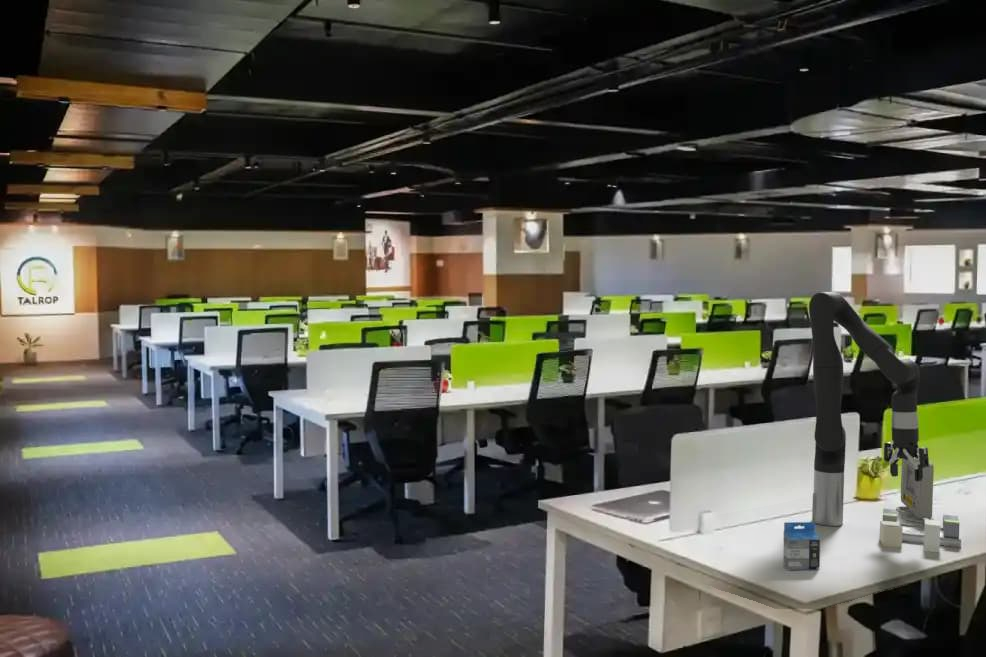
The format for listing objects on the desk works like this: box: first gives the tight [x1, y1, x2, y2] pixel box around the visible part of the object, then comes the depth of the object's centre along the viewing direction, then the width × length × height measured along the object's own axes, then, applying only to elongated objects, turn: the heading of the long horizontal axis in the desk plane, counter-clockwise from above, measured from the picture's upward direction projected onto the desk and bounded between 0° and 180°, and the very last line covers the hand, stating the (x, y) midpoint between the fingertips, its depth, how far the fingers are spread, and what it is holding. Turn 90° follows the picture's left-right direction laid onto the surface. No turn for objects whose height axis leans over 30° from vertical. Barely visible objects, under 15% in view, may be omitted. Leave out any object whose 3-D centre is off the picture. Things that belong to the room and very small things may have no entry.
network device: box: [895, 454, 935, 523], centre depth 304 cm, size 26×9×20 cm, turn 168°
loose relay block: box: [879, 520, 903, 548], centre depth 270 cm, size 5×7×6 cm
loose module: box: [923, 518, 941, 554], centre depth 264 cm, size 4×6×8 cm
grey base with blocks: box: [882, 508, 962, 549], centre depth 277 cm, size 22×13×7 cm, turn 66°
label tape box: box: [782, 521, 821, 571], centre depth 245 cm, size 9×4×12 cm, turn 93°
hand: (906, 478), depth 274 cm, fingers open, 8 cm apart
